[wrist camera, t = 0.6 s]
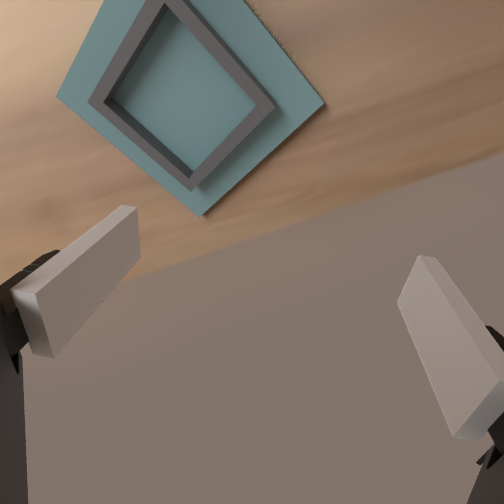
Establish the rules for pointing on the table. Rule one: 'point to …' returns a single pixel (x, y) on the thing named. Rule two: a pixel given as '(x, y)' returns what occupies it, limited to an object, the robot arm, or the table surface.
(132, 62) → the glass holder
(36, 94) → the table surface
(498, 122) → the table surface
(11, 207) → the table surface
